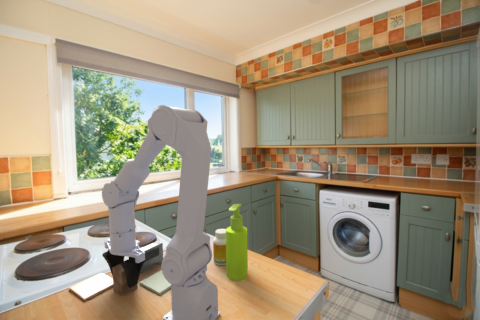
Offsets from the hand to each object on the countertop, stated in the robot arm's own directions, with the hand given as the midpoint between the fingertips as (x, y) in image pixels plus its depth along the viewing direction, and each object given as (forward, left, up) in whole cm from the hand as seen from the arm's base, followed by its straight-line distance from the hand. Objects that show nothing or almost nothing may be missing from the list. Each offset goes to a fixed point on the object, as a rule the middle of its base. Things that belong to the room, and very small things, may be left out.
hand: (125, 281), depth 61 cm
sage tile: (-5, -7, -2) cm, 9 cm away
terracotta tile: (+8, +4, -2) cm, 9 cm away
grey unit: (+4, -10, -2) cm, 11 cm away
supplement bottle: (-12, -24, -2) cm, 27 cm away
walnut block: (0, 0, -2) cm, 2 cm away
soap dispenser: (-20, -20, -2) cm, 29 cm away
